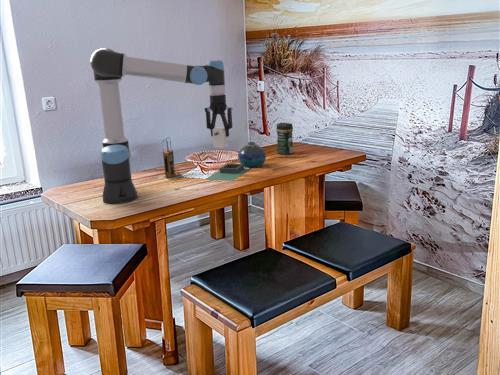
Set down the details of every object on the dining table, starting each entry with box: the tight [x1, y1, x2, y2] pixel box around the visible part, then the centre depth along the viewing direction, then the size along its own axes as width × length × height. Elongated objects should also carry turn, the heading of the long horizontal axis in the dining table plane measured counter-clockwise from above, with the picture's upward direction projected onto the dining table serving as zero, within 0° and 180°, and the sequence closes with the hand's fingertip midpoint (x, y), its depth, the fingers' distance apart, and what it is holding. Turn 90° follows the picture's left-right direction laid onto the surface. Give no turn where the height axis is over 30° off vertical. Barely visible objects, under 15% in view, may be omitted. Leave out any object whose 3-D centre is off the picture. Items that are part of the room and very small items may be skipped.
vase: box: [237, 141, 267, 169], centre depth 260 cm, size 15×15×13 cm
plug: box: [212, 126, 229, 149], centre depth 231 cm, size 9×5×9 cm, turn 161°
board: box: [205, 163, 250, 182], centre depth 243 cm, size 24×15×4 cm, turn 161°
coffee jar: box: [276, 122, 294, 155], centre depth 288 cm, size 10×8×19 cm
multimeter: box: [162, 137, 185, 181], centre depth 247 cm, size 15×10×20 cm
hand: (220, 143), depth 232 cm, fingers closed on plug, 5 cm apart
